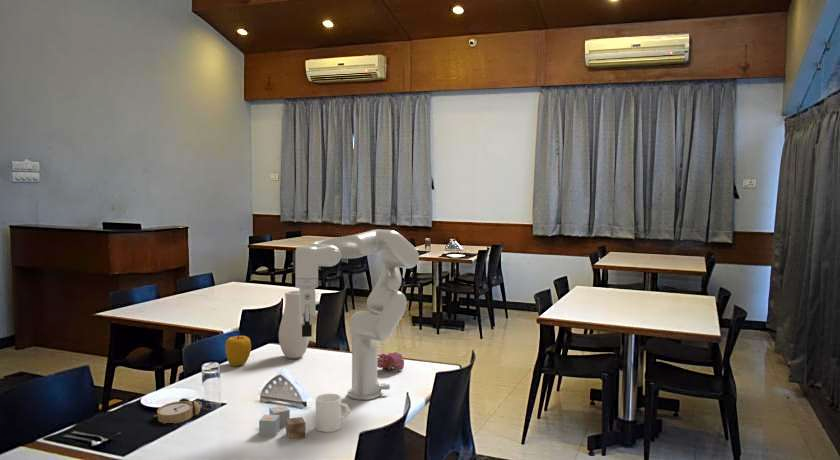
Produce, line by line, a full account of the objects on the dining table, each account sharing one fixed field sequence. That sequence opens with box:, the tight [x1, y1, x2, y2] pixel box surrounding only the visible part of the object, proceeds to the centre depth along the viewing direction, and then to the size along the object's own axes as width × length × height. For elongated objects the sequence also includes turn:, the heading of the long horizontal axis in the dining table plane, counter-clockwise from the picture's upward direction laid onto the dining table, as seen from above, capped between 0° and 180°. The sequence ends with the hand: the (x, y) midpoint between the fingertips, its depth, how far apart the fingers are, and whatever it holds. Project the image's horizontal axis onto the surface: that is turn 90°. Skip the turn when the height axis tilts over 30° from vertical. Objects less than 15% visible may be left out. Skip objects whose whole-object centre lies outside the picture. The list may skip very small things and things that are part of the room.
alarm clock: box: [153, 397, 203, 424], centre depth 204 cm, size 11×5×15 cm
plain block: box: [285, 416, 306, 441], centre depth 188 cm, size 5×5×5 cm
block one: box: [258, 414, 281, 437], centre depth 190 cm, size 5×5×5 cm
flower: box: [377, 351, 405, 372], centre depth 257 cm, size 11×10×10 cm
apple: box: [224, 335, 252, 367], centre depth 263 cm, size 11×11×13 cm
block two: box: [268, 405, 291, 428], centre depth 198 cm, size 5×5×5 cm
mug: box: [315, 393, 351, 433], centre depth 195 cm, size 8×12×10 cm
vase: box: [278, 290, 310, 360], centre depth 275 cm, size 14×14×30 cm
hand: (306, 336), depth 205 cm, fingers closed
